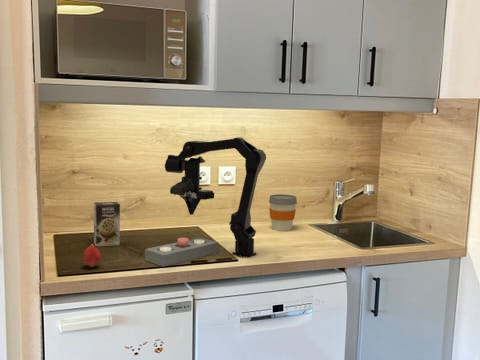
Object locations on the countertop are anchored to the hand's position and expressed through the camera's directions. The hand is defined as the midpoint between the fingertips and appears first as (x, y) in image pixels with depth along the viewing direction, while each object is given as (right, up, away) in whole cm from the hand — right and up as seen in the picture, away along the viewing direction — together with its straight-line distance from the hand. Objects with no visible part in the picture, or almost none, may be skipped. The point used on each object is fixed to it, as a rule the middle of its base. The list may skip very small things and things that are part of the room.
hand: (191, 214), depth 198 cm
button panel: (-2, -14, -11) cm, 18 cm away
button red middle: (-2, -11, -11) cm, 16 cm away
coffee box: (-33, -12, +3) cm, 35 cm away
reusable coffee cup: (+38, -9, +38) cm, 54 cm away
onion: (-31, -16, -27) cm, 44 cm away
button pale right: (+3, -12, -5) cm, 14 cm away
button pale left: (-8, -14, -17) cm, 23 cm away
